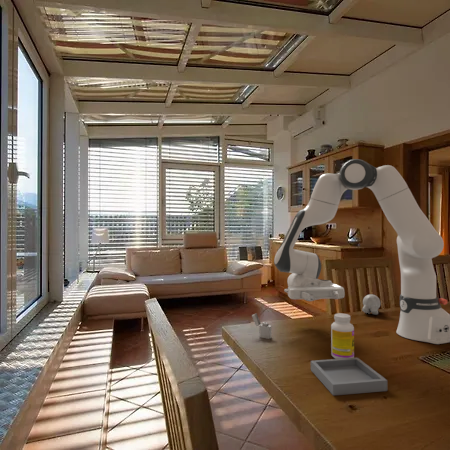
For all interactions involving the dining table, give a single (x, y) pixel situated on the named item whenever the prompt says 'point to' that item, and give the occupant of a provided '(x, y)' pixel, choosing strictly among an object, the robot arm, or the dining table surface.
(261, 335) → the lighter
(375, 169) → the robot arm
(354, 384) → the tray
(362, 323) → the dining table surface
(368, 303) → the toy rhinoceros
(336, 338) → the supplement bottle
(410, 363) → the dining table surface
